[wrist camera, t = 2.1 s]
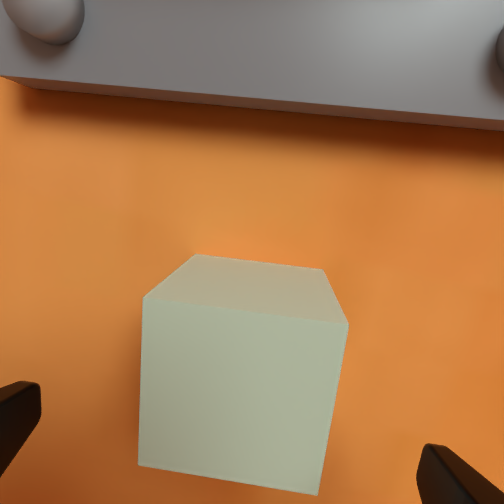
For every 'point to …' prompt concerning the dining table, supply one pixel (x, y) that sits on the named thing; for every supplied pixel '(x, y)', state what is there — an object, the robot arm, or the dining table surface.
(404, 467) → the dining table surface
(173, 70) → the tower base
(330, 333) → the sage brick
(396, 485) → the dining table surface
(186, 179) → the dining table surface
